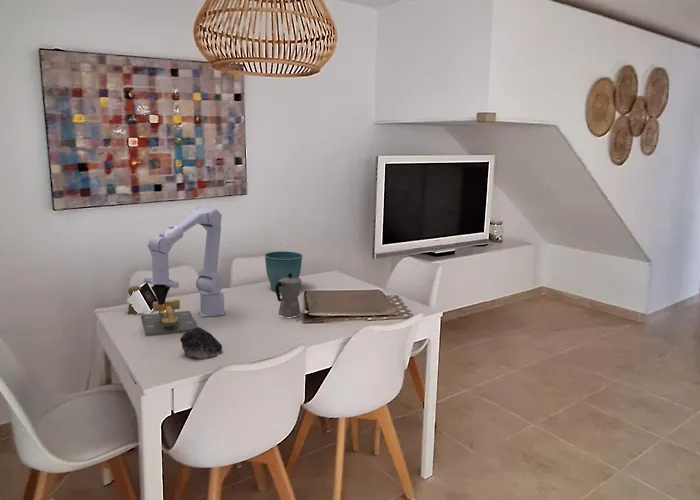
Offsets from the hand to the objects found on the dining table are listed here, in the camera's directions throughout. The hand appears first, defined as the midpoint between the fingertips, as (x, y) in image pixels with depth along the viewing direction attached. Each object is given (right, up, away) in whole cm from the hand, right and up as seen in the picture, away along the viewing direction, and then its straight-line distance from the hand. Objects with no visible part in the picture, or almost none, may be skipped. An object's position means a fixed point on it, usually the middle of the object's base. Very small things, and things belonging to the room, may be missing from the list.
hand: (161, 304), depth 213 cm
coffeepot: (+44, -7, +25) cm, 51 cm away
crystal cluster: (+19, -15, -17) cm, 30 cm away
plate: (0, -9, +9) cm, 13 cm away
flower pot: (+38, +1, +63) cm, 74 cm away
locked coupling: (-3, -5, +15) cm, 16 cm away
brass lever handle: (+1, -7, +5) cm, 9 cm away
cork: (-18, -6, +21) cm, 28 cm away
